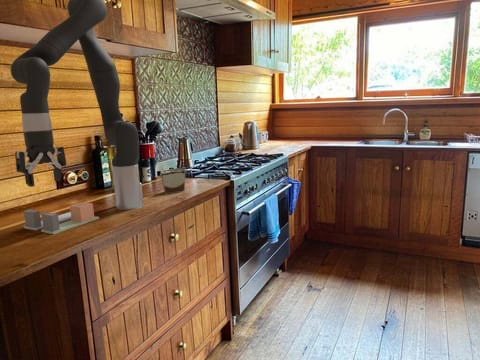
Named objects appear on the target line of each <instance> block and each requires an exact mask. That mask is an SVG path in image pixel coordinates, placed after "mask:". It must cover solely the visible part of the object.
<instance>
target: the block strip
mask: <svg viewBox="0 0 480 360" xmlns="http://www.w3.org/2000/svg"><path fill="white" fill-rule="evenodd" d="M40 216H41V219H42V220H41V221H42V222H43V228H42V229H40V232H42V233H46V234H51V235H56V234H58V233H62V232H64V231H67V230H71V229H73V228H76V227H80V226H82V225H85V224H87V223H90V222H93V221H97V220H99V219H100V217H99V216H95V215H94V218H93V219H90V220H87V221H84V222H78V221H72V219H69V220H66V221H63V222H60V223H59V219H58V216H59V214H58V213H52V212H44V213H40Z"/></svg>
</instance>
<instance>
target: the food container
mask: <svg viewBox="0 0 480 360" xmlns="http://www.w3.org/2000/svg"><path fill="white" fill-rule="evenodd" d="M186 174H187V170H186V168H169V169H167V168H166V169H163V170H161V171H160V174H159V177H160V178H161V182H162V187H163V192H164V195H167V194H168V195H169V194H173V193H181V192H185V190H186V189H185V188H186Z"/></svg>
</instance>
